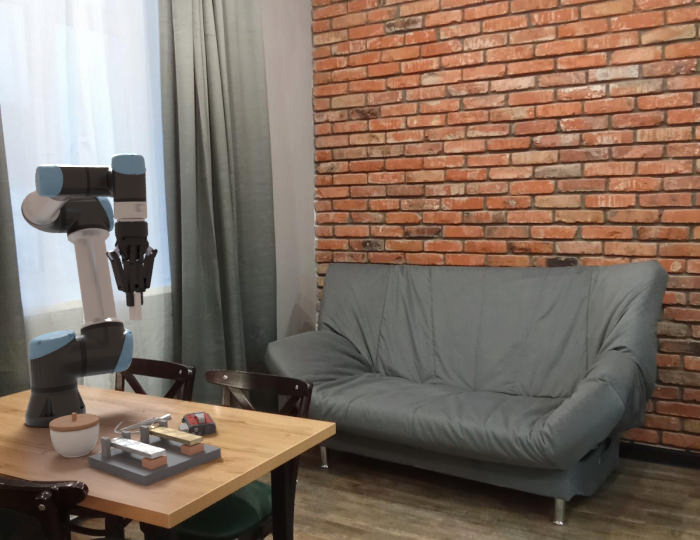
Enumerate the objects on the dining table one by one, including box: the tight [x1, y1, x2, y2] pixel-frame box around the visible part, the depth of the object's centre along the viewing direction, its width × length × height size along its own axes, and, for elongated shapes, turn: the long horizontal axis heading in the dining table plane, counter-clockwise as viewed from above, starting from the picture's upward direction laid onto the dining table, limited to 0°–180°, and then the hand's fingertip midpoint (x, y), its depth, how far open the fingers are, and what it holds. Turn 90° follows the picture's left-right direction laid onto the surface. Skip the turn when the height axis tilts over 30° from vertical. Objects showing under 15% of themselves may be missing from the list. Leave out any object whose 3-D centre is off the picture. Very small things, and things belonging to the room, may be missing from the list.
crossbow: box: [113, 413, 172, 435], centre depth 178 cm, size 16×13×2 cm
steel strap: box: [110, 435, 166, 459], centre depth 147 cm, size 16×4×2 cm, turn 53°
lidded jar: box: [48, 413, 100, 459], centre depth 158 cm, size 11×11×9 cm
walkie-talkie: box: [178, 411, 217, 437], centre depth 171 cm, size 9×4×20 cm
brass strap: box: [149, 424, 204, 446], centre depth 155 cm, size 16×4×2 cm, turn 53°
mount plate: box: [88, 420, 222, 487], centre depth 151 cm, size 20×20×6 cm
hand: (135, 319), depth 164 cm, fingers closed
